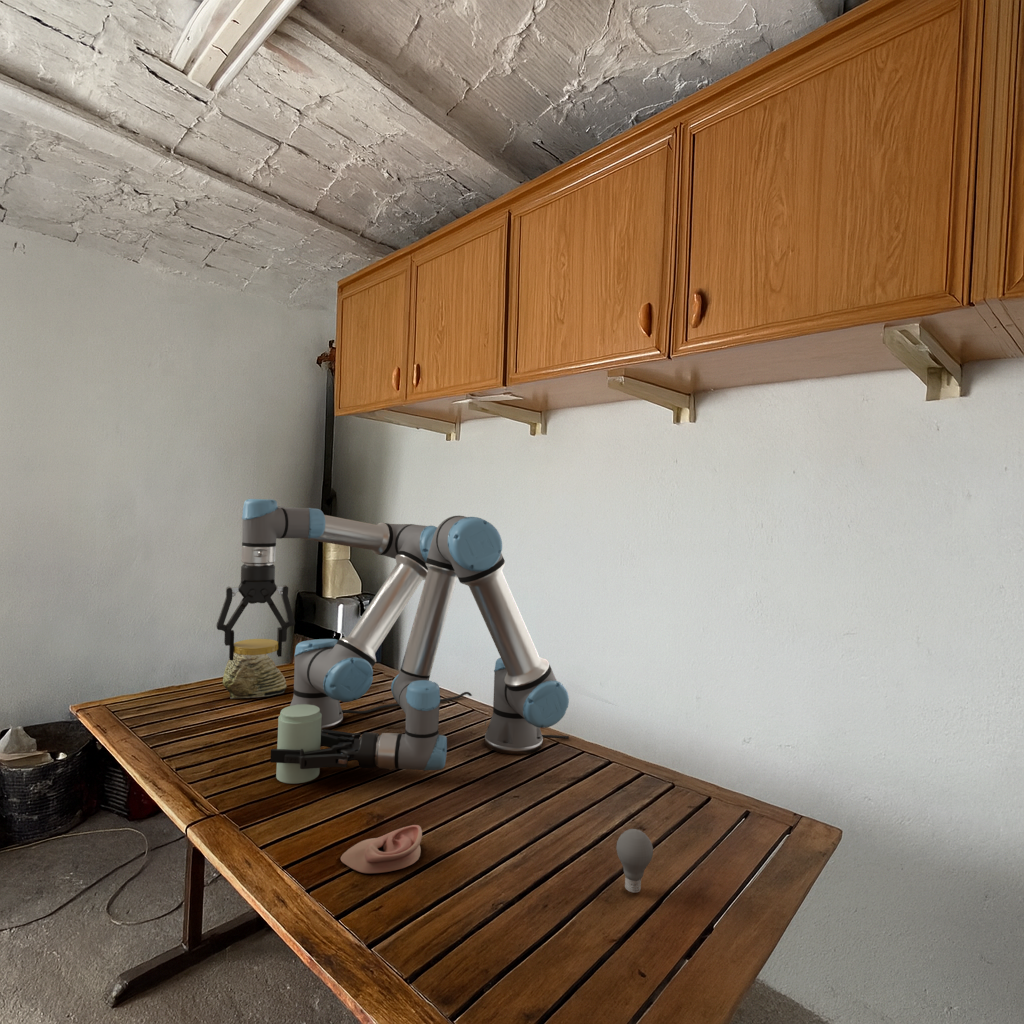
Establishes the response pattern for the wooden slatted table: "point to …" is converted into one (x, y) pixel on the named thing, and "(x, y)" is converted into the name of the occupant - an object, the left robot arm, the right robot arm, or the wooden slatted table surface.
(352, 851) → the anatomical model
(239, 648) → the lid
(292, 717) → the jar
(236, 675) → the fossil
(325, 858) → the wooden slatted table surface
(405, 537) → the left robot arm
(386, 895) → the wooden slatted table surface
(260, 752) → the wooden slatted table surface
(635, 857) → the light bulb
